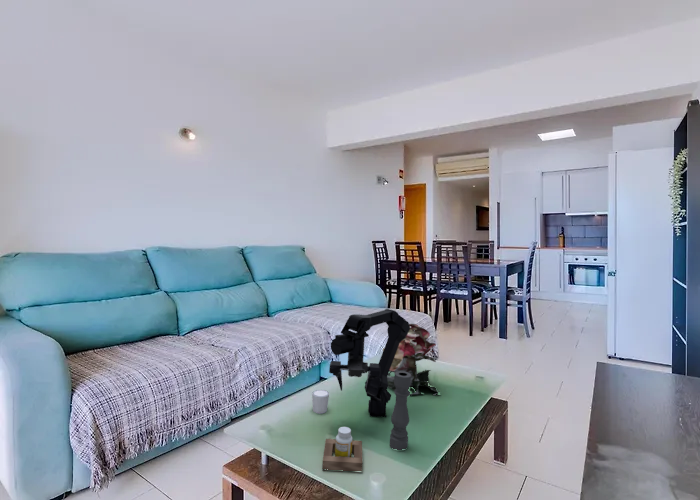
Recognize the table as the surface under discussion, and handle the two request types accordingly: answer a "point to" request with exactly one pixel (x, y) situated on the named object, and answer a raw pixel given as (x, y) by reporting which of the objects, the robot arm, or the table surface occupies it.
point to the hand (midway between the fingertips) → (353, 390)
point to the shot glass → (320, 401)
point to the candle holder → (400, 411)
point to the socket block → (342, 462)
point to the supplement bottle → (343, 442)
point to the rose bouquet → (412, 358)
